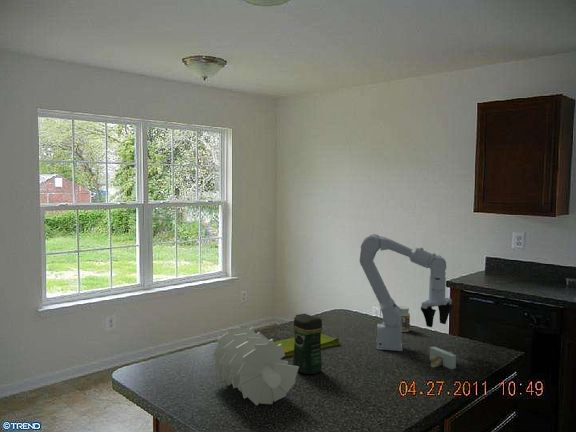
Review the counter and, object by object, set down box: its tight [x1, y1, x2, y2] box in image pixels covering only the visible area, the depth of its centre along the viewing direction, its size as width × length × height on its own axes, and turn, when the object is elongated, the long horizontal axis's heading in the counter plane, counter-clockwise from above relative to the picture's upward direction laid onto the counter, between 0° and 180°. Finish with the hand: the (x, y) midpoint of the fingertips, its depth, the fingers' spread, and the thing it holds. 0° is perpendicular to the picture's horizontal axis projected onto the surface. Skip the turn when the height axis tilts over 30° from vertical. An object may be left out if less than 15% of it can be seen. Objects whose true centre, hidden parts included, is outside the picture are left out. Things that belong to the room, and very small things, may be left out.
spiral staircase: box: [212, 324, 299, 406], centre depth 142 cm, size 18×18×25 cm
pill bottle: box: [398, 306, 411, 333], centre depth 207 cm, size 6×6×10 cm
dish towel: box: [273, 333, 340, 359], centre depth 183 cm, size 15×36×3 cm, turn 124°
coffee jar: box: [292, 313, 323, 375], centre depth 160 cm, size 10×8×19 cm
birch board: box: [430, 351, 454, 368], centre depth 168 cm, size 10×1×4 cm, turn 124°
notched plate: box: [429, 346, 457, 370], centre depth 168 cm, size 10×2×4 cm, turn 29°
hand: (436, 325), depth 179 cm, fingers open, 7 cm apart
